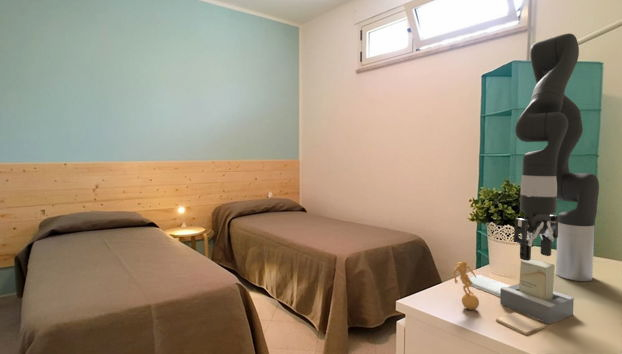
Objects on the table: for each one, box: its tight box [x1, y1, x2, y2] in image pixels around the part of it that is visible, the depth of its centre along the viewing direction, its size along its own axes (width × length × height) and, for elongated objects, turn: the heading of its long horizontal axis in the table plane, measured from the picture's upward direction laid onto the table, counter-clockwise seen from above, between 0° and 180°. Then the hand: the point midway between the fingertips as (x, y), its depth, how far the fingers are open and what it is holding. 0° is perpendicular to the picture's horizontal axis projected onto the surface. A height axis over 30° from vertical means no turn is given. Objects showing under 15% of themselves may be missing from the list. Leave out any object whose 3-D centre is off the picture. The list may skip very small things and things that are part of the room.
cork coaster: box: [495, 311, 546, 336], centre depth 78 cm, size 7×7×1 cm
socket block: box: [499, 283, 575, 325], centre depth 85 cm, size 10×12×4 cm
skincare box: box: [518, 258, 556, 302], centre depth 85 cm, size 6×4×12 cm
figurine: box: [452, 260, 480, 311], centre depth 86 cm, size 8×6×12 cm
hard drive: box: [467, 274, 511, 298], centre depth 100 cm, size 2×8×12 cm
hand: (535, 257), depth 84 cm, fingers open, 8 cm apart
